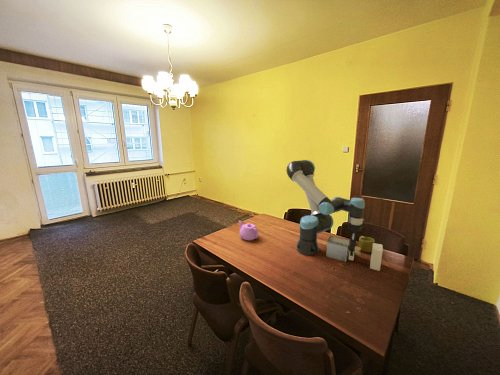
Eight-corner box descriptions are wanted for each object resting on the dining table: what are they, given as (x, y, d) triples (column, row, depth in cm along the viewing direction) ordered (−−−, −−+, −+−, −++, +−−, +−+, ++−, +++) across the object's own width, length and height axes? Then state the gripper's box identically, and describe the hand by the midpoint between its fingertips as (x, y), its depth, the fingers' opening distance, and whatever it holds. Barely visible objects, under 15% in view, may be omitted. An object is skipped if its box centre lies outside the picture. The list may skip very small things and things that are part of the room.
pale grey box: (326, 256, 136) (327, 240, 134) (328, 250, 143) (330, 235, 141) (346, 261, 130) (347, 245, 127) (347, 255, 137) (349, 239, 135)
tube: (330, 250, 135) (331, 242, 134) (331, 246, 140) (332, 239, 139) (359, 257, 127) (360, 249, 126) (360, 253, 131) (361, 245, 130)
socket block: (369, 268, 123) (372, 249, 120) (370, 260, 131) (372, 242, 128) (379, 271, 121) (382, 251, 118) (379, 263, 128) (382, 244, 125)
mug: (379, 252, 137) (375, 237, 137) (363, 255, 139) (358, 240, 140) (373, 246, 148) (369, 233, 149) (358, 249, 151) (354, 236, 152)
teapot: (263, 238, 162) (263, 224, 160) (251, 244, 153) (251, 229, 150) (244, 230, 175) (244, 217, 173) (233, 236, 166) (232, 222, 163)
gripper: (361, 230, 117) (356, 266, 122) (363, 219, 132) (359, 252, 138) (346, 227, 121) (342, 262, 126) (350, 217, 136) (347, 249, 141)
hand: (351, 257), depth 132 cm, fingers closed on tube, 5 cm apart
